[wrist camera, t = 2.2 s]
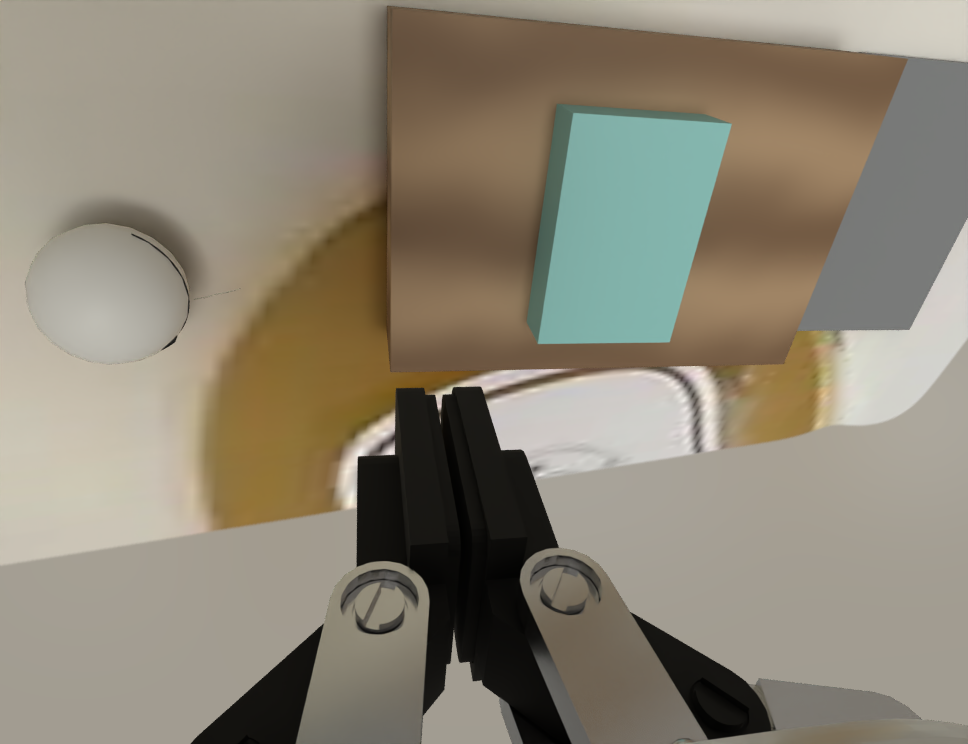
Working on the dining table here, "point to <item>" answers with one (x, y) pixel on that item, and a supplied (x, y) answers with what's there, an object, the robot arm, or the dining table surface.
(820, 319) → the mat
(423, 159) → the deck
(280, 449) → the dining table surface
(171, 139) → the dining table surface
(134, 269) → the white sphere
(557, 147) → the teal rectangular block
